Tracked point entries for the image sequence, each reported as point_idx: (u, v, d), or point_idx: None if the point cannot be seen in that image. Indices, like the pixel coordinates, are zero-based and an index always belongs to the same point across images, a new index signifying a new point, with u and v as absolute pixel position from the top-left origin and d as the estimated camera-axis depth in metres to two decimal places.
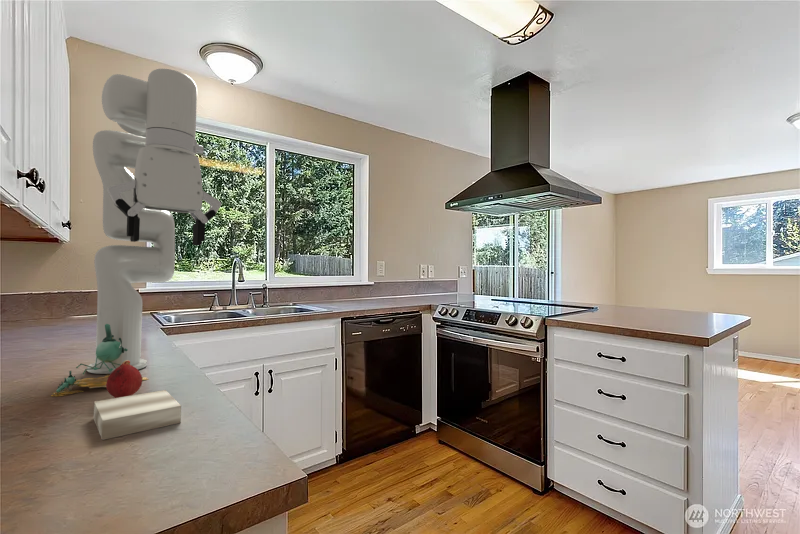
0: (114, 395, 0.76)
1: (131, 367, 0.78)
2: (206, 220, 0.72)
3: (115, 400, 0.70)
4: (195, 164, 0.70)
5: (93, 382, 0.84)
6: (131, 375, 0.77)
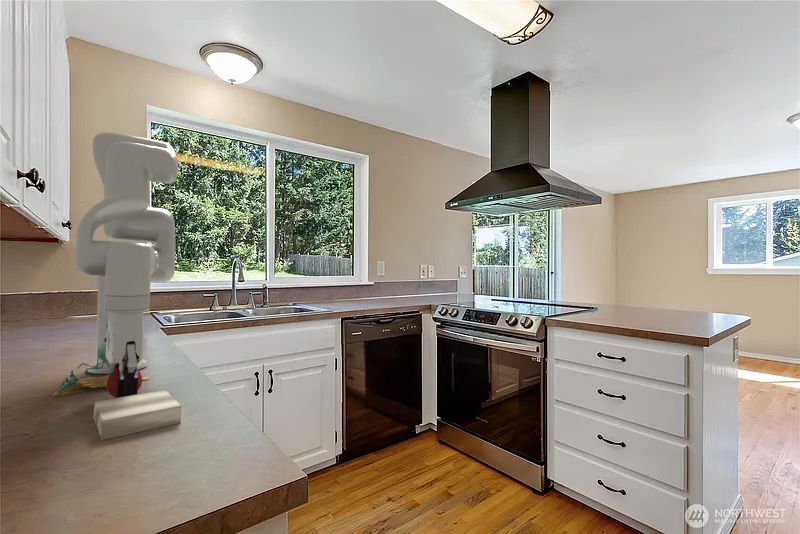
0: (114, 395, 0.76)
1: None
2: None
3: (115, 400, 0.70)
4: None
5: (95, 382, 0.84)
6: None
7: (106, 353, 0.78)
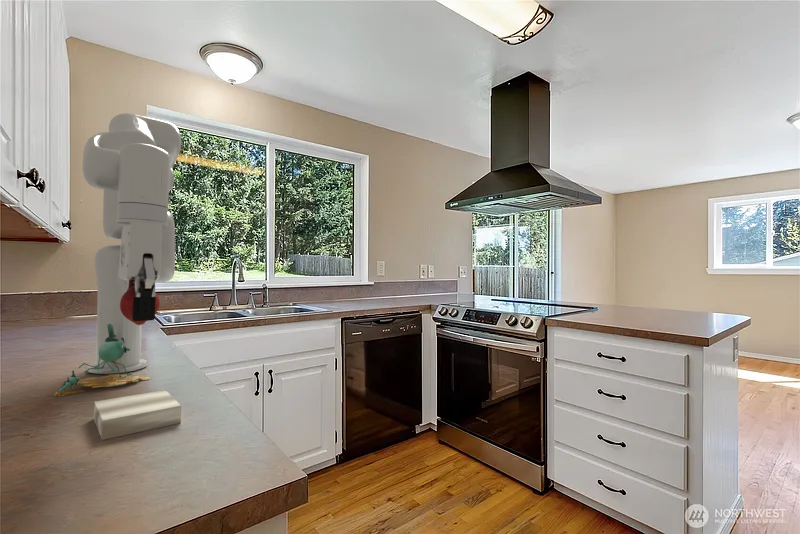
0: (129, 316, 0.67)
1: None
2: None
3: (115, 400, 0.70)
4: None
5: (96, 382, 0.84)
6: None
7: (119, 272, 0.70)
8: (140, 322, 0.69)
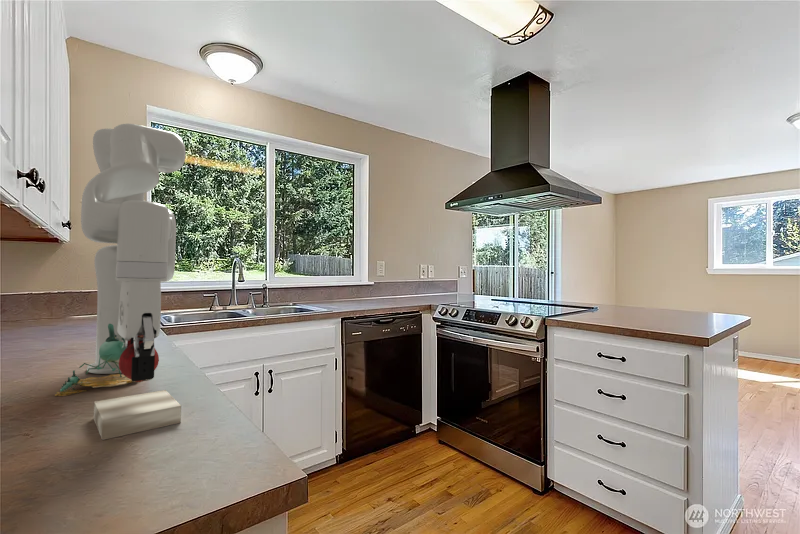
0: (128, 375, 0.67)
1: None
2: None
3: (115, 400, 0.70)
4: None
5: (96, 382, 0.85)
6: None
7: (118, 328, 0.69)
8: None
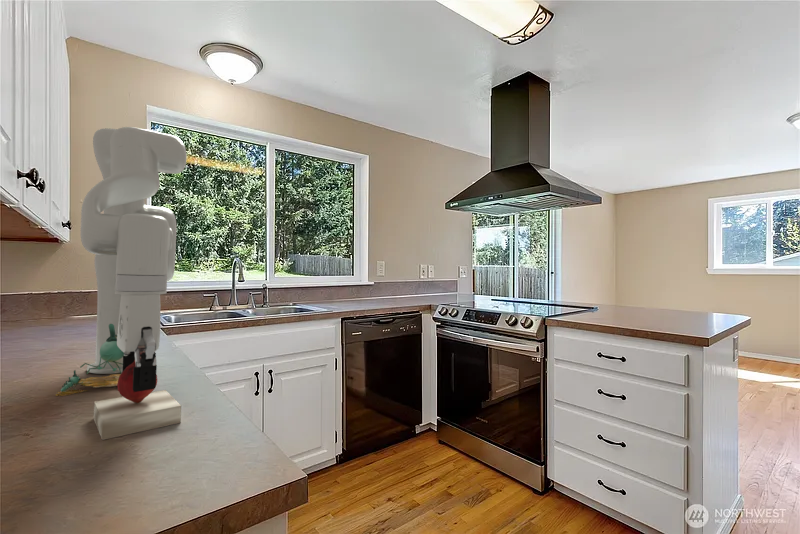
0: (126, 396, 0.67)
1: None
2: None
3: (115, 400, 0.70)
4: None
5: (97, 381, 0.85)
6: None
7: (118, 341, 0.69)
8: (138, 400, 0.68)
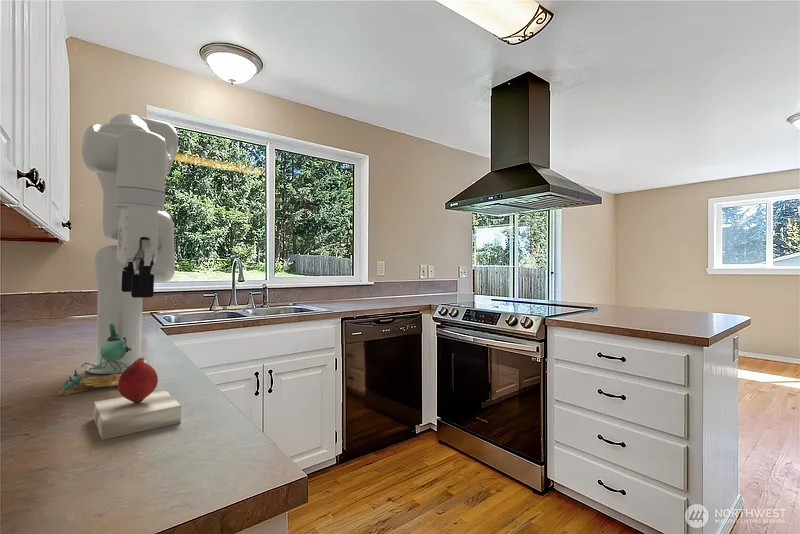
0: (127, 397, 0.67)
1: (146, 365, 0.69)
2: None
3: (115, 400, 0.70)
4: None
5: (98, 381, 0.85)
6: (146, 374, 0.68)
7: (117, 254, 0.72)
8: (138, 401, 0.68)
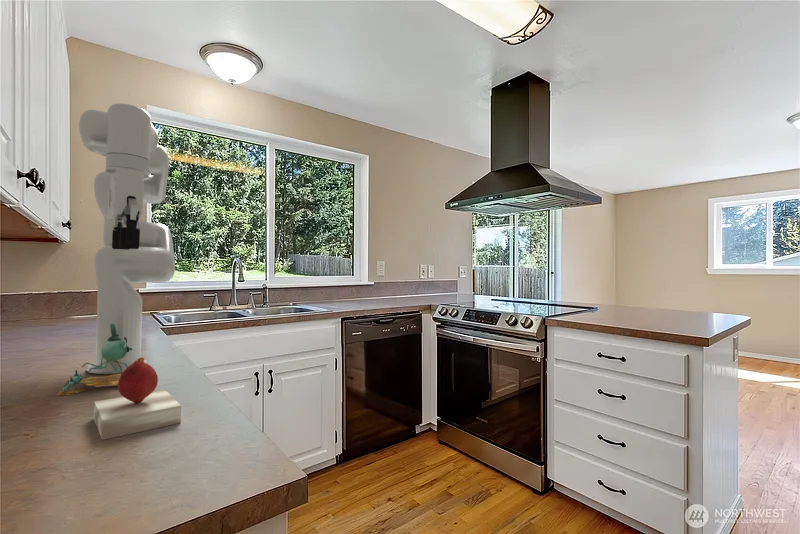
0: (127, 397, 0.67)
1: (146, 365, 0.69)
2: None
3: (115, 400, 0.70)
4: None
5: (99, 381, 0.85)
6: (146, 374, 0.68)
7: (108, 213, 0.82)
8: (138, 401, 0.68)
